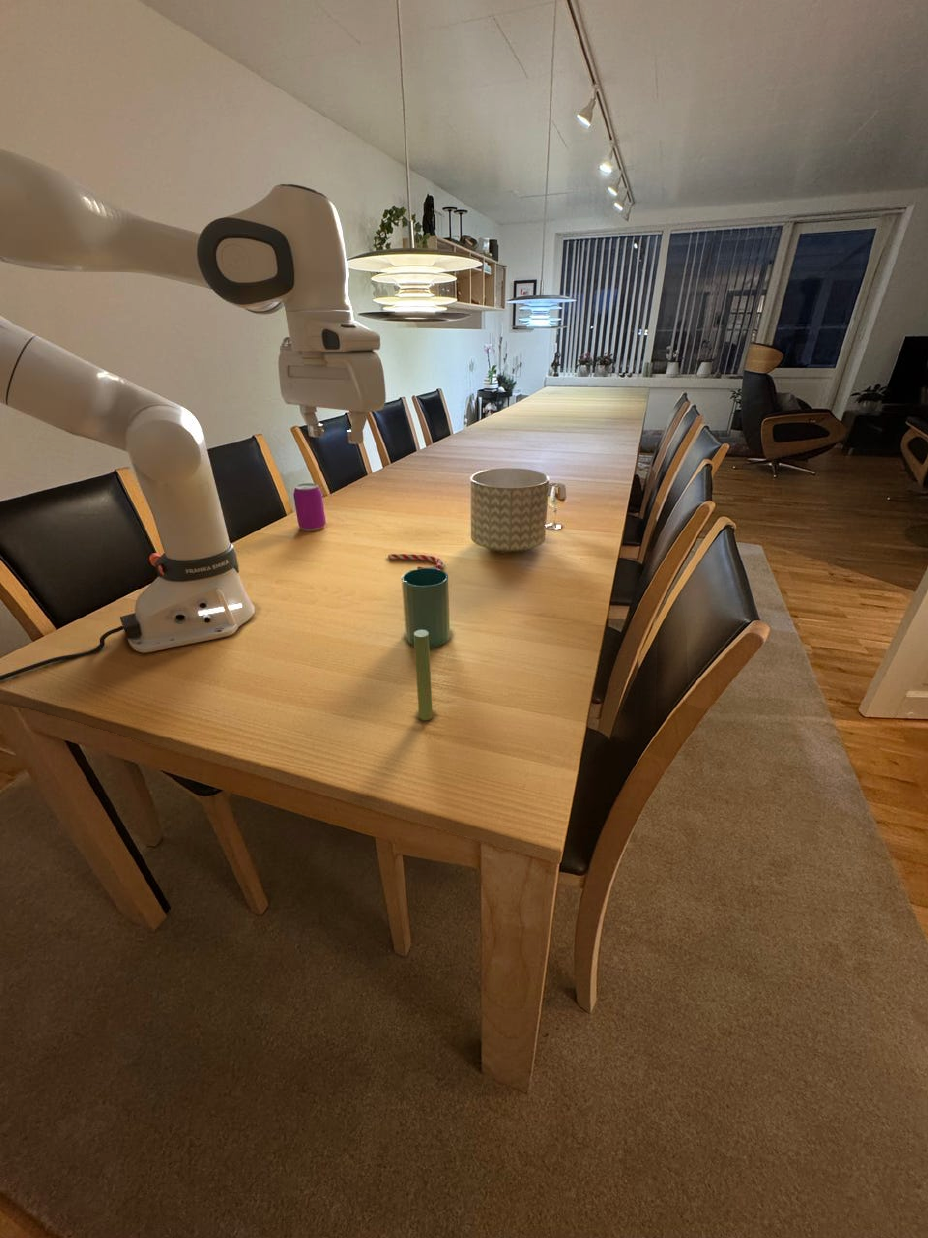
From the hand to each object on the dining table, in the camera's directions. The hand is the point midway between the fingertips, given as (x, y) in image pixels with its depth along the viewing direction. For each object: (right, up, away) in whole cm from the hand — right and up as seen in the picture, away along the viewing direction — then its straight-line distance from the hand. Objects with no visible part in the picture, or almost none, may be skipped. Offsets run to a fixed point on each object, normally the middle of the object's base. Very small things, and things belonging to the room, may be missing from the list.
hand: (335, 439), depth 78 cm
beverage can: (-24, -1, +70) cm, 74 cm away
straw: (+14, -42, -4) cm, 44 cm away
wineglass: (+45, -1, +69) cm, 82 cm away
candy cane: (+7, -14, +46) cm, 49 cm away
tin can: (+13, -31, +16) cm, 37 cm away
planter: (+31, -9, +55) cm, 63 cm away
